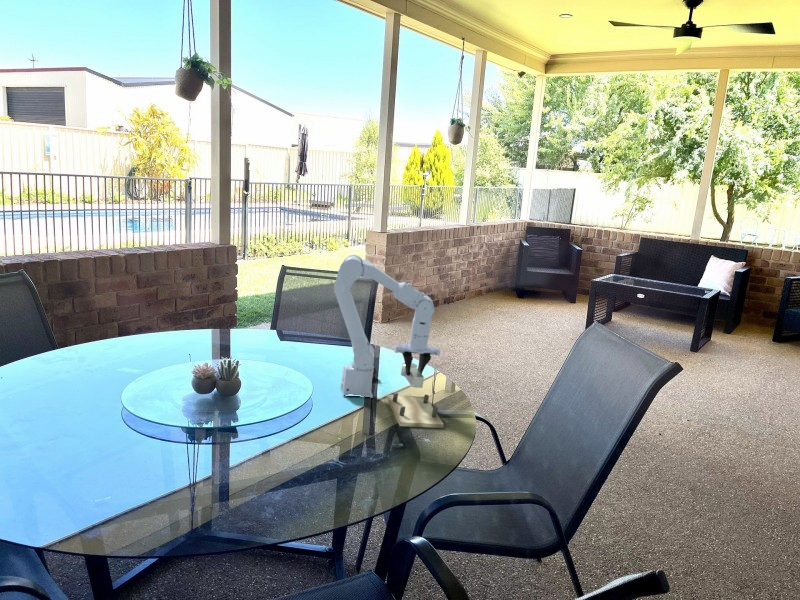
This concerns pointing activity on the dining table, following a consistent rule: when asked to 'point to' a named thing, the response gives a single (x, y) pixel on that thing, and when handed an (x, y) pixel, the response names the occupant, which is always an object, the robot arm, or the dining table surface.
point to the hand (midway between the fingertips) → (413, 374)
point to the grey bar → (413, 376)
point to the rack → (414, 411)
